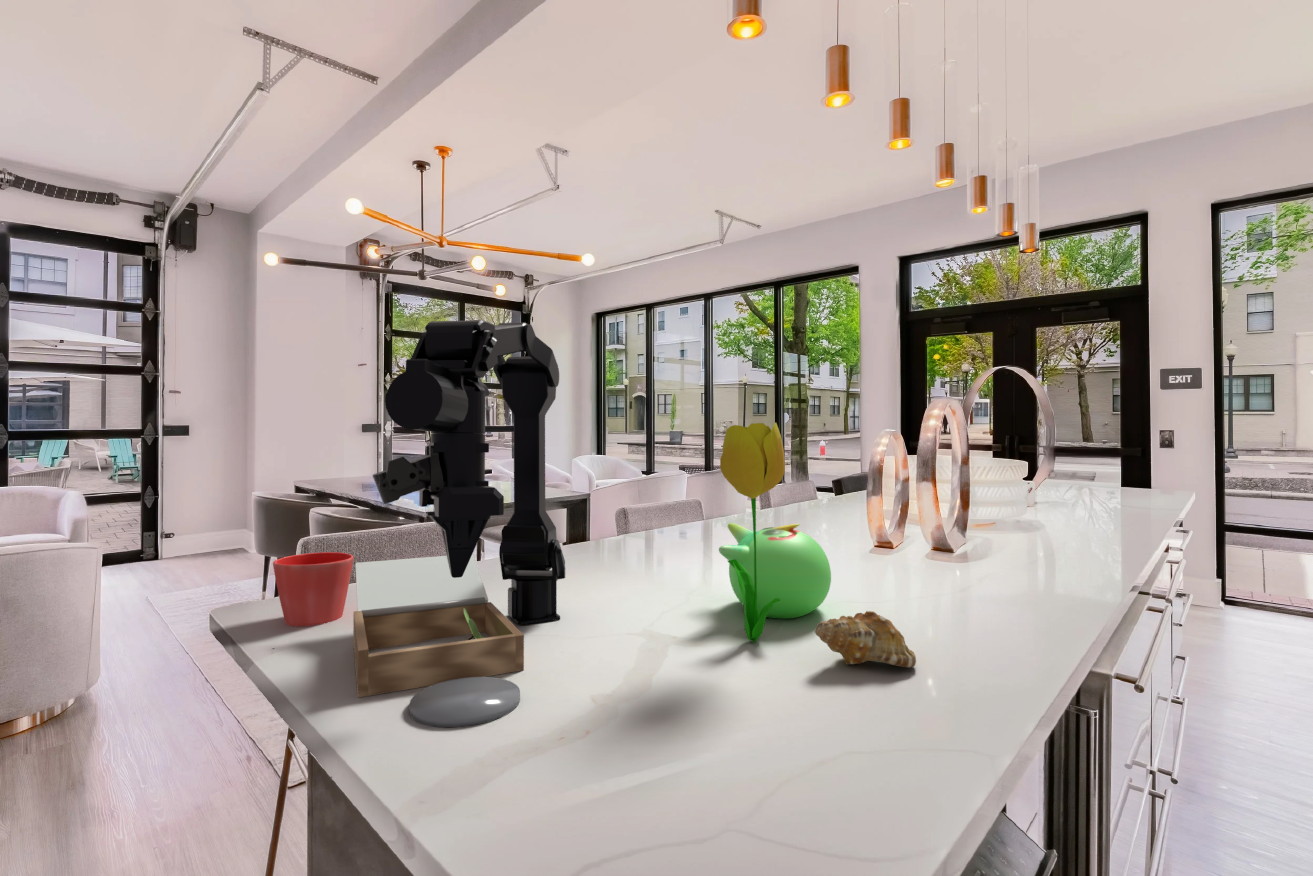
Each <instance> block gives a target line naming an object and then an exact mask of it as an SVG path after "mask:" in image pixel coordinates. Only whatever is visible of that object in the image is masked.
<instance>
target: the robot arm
mask: <svg viewBox="0 0 1313 876" xmlns="http://www.w3.org/2000/svg"><path fill="white" fill-rule="evenodd" d="M424 329H425V331H424V332H422V333H421V335H420V337H419V340H418V341H417V344H416V347H415V348H414V351H413V353H412V355H411V357H410V358H408V359H406V360H405V371H403V372H402V373H400V374H398V375H397V376H396V377H395V378H394V379H393V380H392V381H391V383H390V385H389V387H388V389H387V392H386V393H385V395H384V404H385V409H386V412H387V414H388V416H389V417H390V419H391V420H392V421H393V422H394V423H395V424H396V425H397V426H399V427H401V428H403V429H407V430H413V431H423V432H430V443H428V444H427V445H426V446H425V450H424V451H425V454H424V457H420V458H417V459H415V460H411V461H409V460H407V458H405V456H399V457H398V458H395V459H392V460H388V461H387V464H386V469H385V470H382V471H379V472H376V473H374V474H372V478H373V480H374V484H375V486H376V488H377V491H378V493H379V496H380V499H381V501H382V503H383V504H385V505H386V504H390V503H393V502H396V501H398V500H399V499H400V498H401V497H404V496H407V495H409V494H413V493H414V492H418V491H419V497H418V498H419V499H418V501H419V502H418V503H419V506H420V507H427V506H433V511H432V510H431V511H425V515H426V516H427V517H429V518H430V519H431V520H432V521H433V522H434V523H435V524H436V525H437V526H438V527H439V528H440V532H441V536H442V539H443V540H442V541H443V544H444V549H445V550H444V551H445V556H447V560H448V564H449V569H450V573H451V576H452V577H453V578H458V577H462V576H463V574H464V572H465V569H466V567H467V565H468V563H469V560H470V558H471V556H472V554H474V551H475V549H476V547H477V544H478V542H479V540H480V538H481V536H482V534H483V532H484V529H485V527H486V525H487V523H488V521H489V520H490V519H491V517H492V516H493V517H494V516H495V517H496V516H503V515H504V513H505V512H504V510H505V509H504V507H505V505H504V500H505V496H504V495H503V494H502V493H501V492H500V491H499V490H498V489H497V488H496V487H493V486H489V485H490V484H489V480H486V477H485V476H486V453H489V452H490V443H489V442H487V443H486V397H489V396H490V390H489V388H488V386H487V385H486V384H484V382H483V381H482V379H481V378H485V377H486V375H487V373H488V372H489V371H491V370H493V372H494V375H495V377H496V379H497V380H498V382H499V385H500V386H501V394H502V395H501V396H502V399H503V400H504V402H505V404H506V405H507V407H508V408H509V410H510V412H511V413H512V415H513V513H512V516H511V517H510V518H509V520H508V522H507V524H505V525H504V526H503V527H502V530H501V542H500V544H499V550H498V553H499V554H498V556H499V562H500V571H501V577H502V580H504V581H505V580H511V581H510V582H511V584H510V587H508V588H507V615H508V617H510V619H511V620H513V621H514V623H516V624H517V625H519V626H520V625H528V624H529V625H530V624H534V623H535V624H536V623H545V622H551V621H557V620H561V615H560V614H559V613H557V612H558V611H557V603H558V602H557V589H558V588H557V585H558V584H557V582H558V581H559V580H564V579H565V578H566V560H565V557H564V554H563V550H562V548H561V544H560V541H559V540H558V538H557V526H555V523H554V522H553V520H552V519H551V517H550V516H549V514H548V512H547V510H546V414H547V413H548V411H549V410H550V408H551V407H552V405H553V404H554V401H555V400H556V396H557V395H556V394H557V387H558V386H559V384H560V370H559V365H558V362H557V359H556V356H555V354H554V351H553V349H552V348H551V347H550V346H548V345H547V344H546V343H545V342H543V340H541V339H540V338H539V337H538V336H536V333H535V331H534V328H533V325H532V324H530V323H529V324H528V323H526V322H500V323H499V324H493V322H492V323H491V322H489V321H487V320H484V319H477V320H475V319H474V320H471V319H470V320H438V321H437V320H435V321H430V322H428V323H427V324H426V325H425V327H424ZM519 352H520V353H523V352H524V353H525V352H526V354H527V355H528V356H508V357H507V358H506V359H505V356H507V355H511V354H512V355H513V354H515V353H519Z"/></svg>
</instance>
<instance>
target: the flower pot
mask: <svg viewBox="0 0 1313 876" xmlns="http://www.w3.org/2000/svg"><path fill="white" fill-rule="evenodd" d="M353 562H354V556H353V554H350V553H346V552H340V551H337V552H335V551H334V552H333V551H325V552H323V551H322V552H309V553H308V552H307V553H301V554H293V555H289V556H284V557H280V558H277V559H276V560H273V562H272V567H273V572H274V578H275V582H276V587H277V592H278V593H277V594H278V597H279V602H280V606H281V610H282V615H283V620H284V622H285V625H287V626H289V627H311V626H312V627H314V626H320V625H324V623H325V624H329V623H332V622H334V621H337V620H339V619H340V618H342V617H343V615H344V612H345V606H346V601H347V600H346V599H347V595H348V590H349V586H350V585H349V584H350V581H351V580H350V579H351V574H352V568H353V564H354V563H353ZM328 622H329V623H328ZM313 625H314V626H313Z"/></svg>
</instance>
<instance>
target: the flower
mask: <svg viewBox="0 0 1313 876" xmlns="http://www.w3.org/2000/svg"><path fill="white" fill-rule="evenodd" d="M722 443H723V444H722V454H721V456H720V459H719V461H720V463H719V464H720V465H719V466H720V467H719V469H720V472H721V474H722V475H723V476H722V477H724V478H725V479H726V481H727V482H728V483H729V484H730V485H731V486H732V487H733V488H734V489H735V490H736V492H737V493H738V494H741V495H742V496H745V497H748V498H750V501H751V514H752V531H753V535H754V585H753V582H752V579H751V576H750V575H749V574H748V572H747V571H746V570H745V569H744V567H743V566H742V565H741V564H740V563H739V562H738V561H737V560H736V559H735V560H727V562H728V564H731V565H732V566H733V567H734V568H735V570H736V573H737V576H738V582H739V586H740V589H741V592H742V596H743V600H744V605H743V607H744V608H743V609H744V632H745V634H746V637H747V638H746V639H747V640H748V641H751V642H753V644H754V643H756V642H757V640H758V639H760V638H761V636H762V634H763V631H764V628H765V624H766V619H767V618H768V617H767V614H768V612H769V610H770V608H771V607H772V606H773V604H774V603H775V602H778V601H780V599H778V598H777V599H776V598H775V599H774V600H772V601H771V602H770V603H768V604H767V605H766V606H764V608H763V609H762V611H761V613H760V612H759V609H758V605H757V571H756V532H757V518H756V517H757V511H756V510H757V509H756V508H757V505H756V504H757V501H756V500H757V498H758V497H759V496H761V495H763V494H765V493H766V492H769V491H771V490H772V489H774V488H776V486H777V485H778V484H780V482H782V481H783V480H782V479H783V477H784V475H785V472H786V471H785V470H786V459H785V449H784V444H783V439H782V435H781V433H780V429H779V427H778V424H777V422H774V424H772V427H769V425H766V424H765V423H764V422H757V423H750V424H749V425H748V426H747V427H746V426H743V425H736V424H733V425H731V426H729V427H727V428H726V432H725V434H724V439H723V442H722Z"/></svg>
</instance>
